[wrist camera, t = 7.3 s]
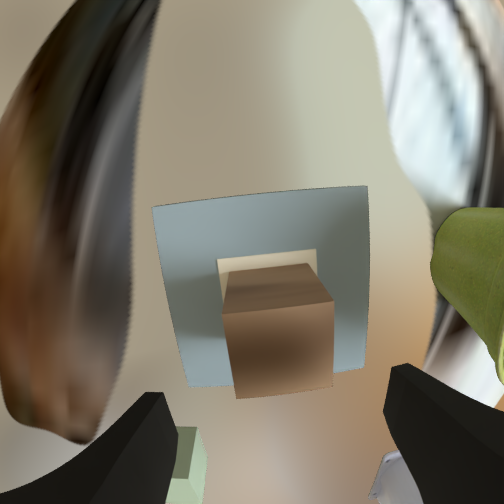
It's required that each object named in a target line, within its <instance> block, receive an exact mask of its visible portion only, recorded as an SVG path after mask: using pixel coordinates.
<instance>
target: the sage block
mask: <svg viewBox="0 0 504 504" xmlns="http://www.w3.org/2000/svg"><path fill="white" fill-rule="evenodd" d="M176 429H177V432H178V434H179V436H178V446H177V455H176V462H175V466H174V470H173V474H172V479H171V483H170V487H169V490H168V494H167V499H166V503H172V504H203V494H204V485H205V477H206V468H207V459H208V457H207V454H206V451H205V448H204V445H203V443H202V440H201V437H200V434H199V431H198V428H197V427H178V426H176Z"/></svg>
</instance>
